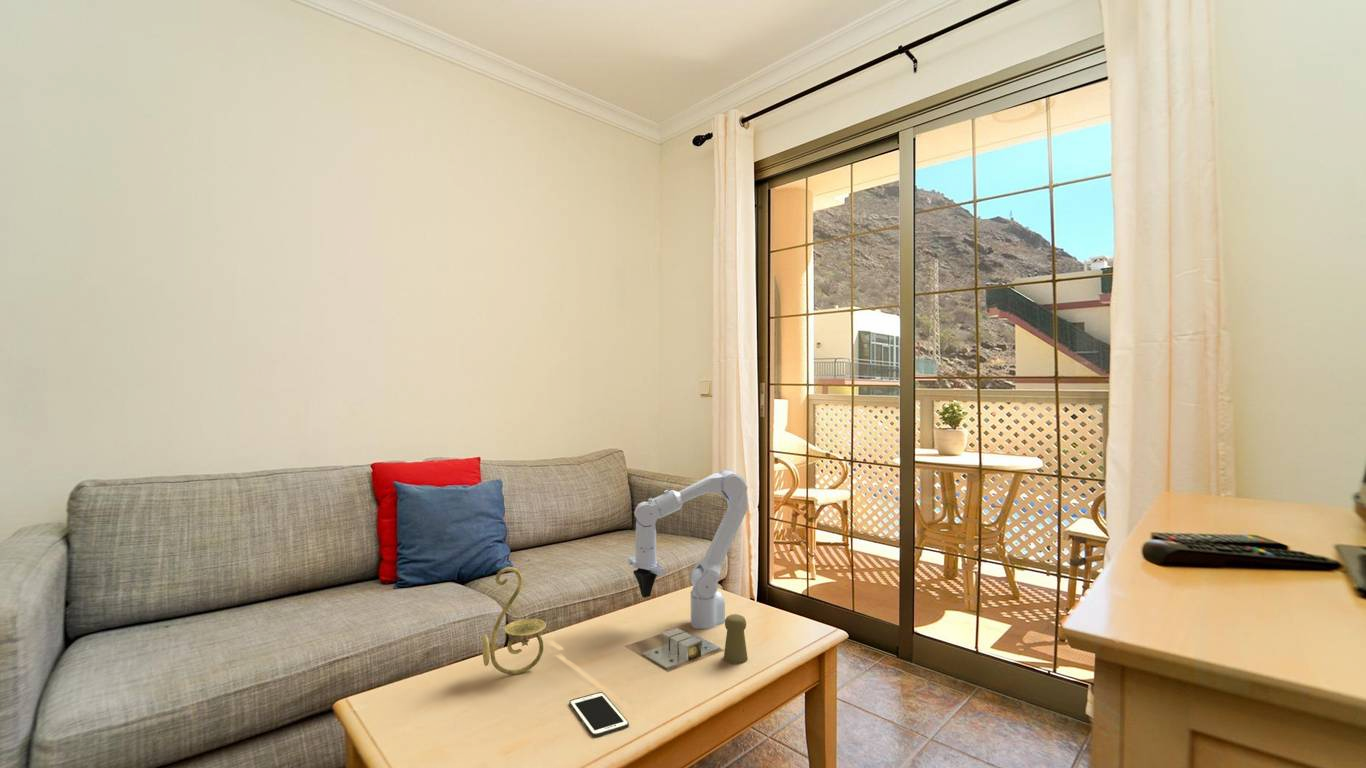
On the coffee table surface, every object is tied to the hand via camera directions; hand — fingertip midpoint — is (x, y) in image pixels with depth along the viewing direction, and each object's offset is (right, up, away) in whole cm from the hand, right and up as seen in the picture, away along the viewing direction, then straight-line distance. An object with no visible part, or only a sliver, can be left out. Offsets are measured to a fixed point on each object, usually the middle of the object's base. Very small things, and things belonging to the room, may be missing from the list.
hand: (646, 596), depth 161 cm
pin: (+10, -8, -15) cm, 20 cm away
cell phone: (-7, -9, -42) cm, 44 cm away
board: (+8, -9, -13) cm, 18 cm away
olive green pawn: (+23, -9, -19) cm, 31 cm away
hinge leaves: (+10, -8, -15) cm, 20 cm away
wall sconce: (-29, -9, -25) cm, 39 cm away
